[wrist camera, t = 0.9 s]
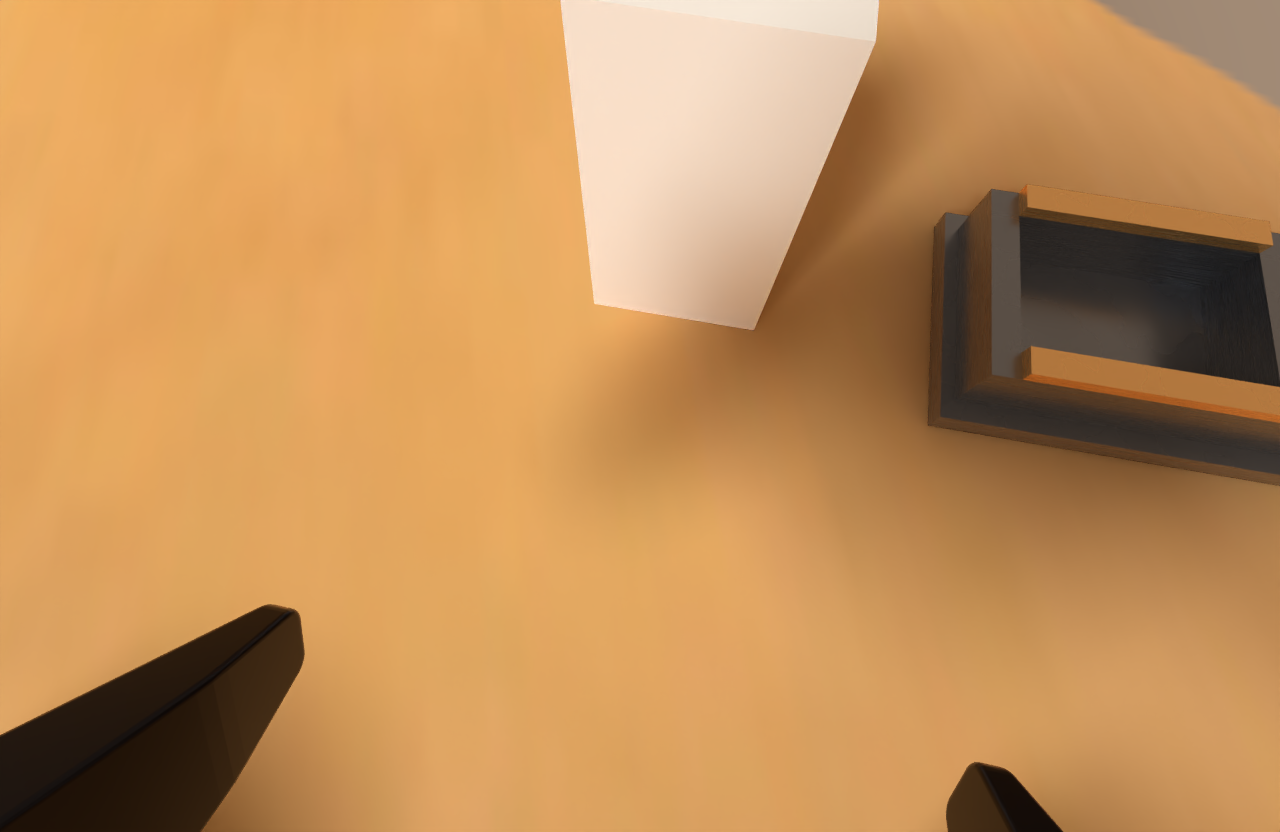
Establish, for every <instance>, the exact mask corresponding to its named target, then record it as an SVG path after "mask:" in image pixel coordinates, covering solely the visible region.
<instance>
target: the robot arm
mask: <svg viewBox="0 0 1280 832" xmlns="http://www.w3.org/2000/svg"><path fill="white" fill-rule="evenodd" d="M303 660H304V643H303V635H302V627H301V619H300V615H299V613H298V612H297V611H296V610H294V609H291V608H287V607H282V606H278V605H272V604H269V605H264V606H261V607H259V608H257V609H255V610H253V611H251V612H249V613H247V614H245V615H243V616H241V617H239V618H237V619H235V620H233V621H231V622H228V623H226V624H224V625H222V626H220V627H218V628H216V629H214V630H212V631H210V632H208V633H206V634H204V635H202V636H200V637H198V638H196V639H194V640H192V641H190V642H188V643H186V644H184V645H182V646H180V647H178V648H176V649H174V650H172V651H170V652H168V653H166V654H164V655H162V656H160V657H158V658H156V659H153V660H151V661H149V662H147V663H145V664H143V665H141V666H139V667H137V668H135V669H133V670H131V671H129V672H127V673H125V674H123V675H121V676H119V677H117V678H115V679H113V680H111V681H109V682H107V683H105V684H103V685H101V686H99V687H97V688H95V689H93V690H91V691H89V692H87V693H85V694H83V695H81V696H78V697H76V698H74V699H72V700H70V701H68V702H66V703H64V704H62V705H60V706H58V707H56V708H54V709H52V710H50V711H48V712H46V713H44V714H42V715H40V716H38V717H36V718H34V719H32V720H30V721H28V722H26V723H24V724H22V725H20V726H18V727H16V728H14V729H12V730H10V731H8V732H6V733H3V734H1V735H0V832H201V831H202V829H203V828H204V826H205V825H206V824H207V822H208V821H209V819H210V818H211V817H212V815H213V814H214V812H215V811H216V809H217V808H218V807H219V805H220V804H221V802H222V801H223V799H224V798H225V796H226V795H227V793H228V792H229V790H230V789H231V787H232V786H233V784H234V783H235V781H236V780H237V778H238V777H239V775H240V773H241V772H242V770H243V768H244V767H245V765H246V763H247V762H248V760H249V758H250V756H251V755H252V753H253V751H254V749H255V748H256V746H257V744H258V743H259V741H260V739H261V737H262V736H263V734H264V732H265V730H266V729H267V727H268V725H269V723H270V722H271V720H272V718H273V716H274V715H275V713H276V711H277V709H278V708H279V706H280V704H281V703H282V701H283V699H284V697H285V696H286V694H287V692H288V690H289V689H290V687H291V685H292V683H293V682H294V680H295V678H296V676H297V675H298V673H299V671H300V669H301V666H302V664H303ZM946 820H947V828H948V832H1063V831H1062V830H1061V828H1060V827H1059V826H1058V825H1057V824H1056V823H1055V822H1054V820H1053V819H1052V818H1051V817H1050V816H1049V815H1048V814H1047V813H1046V811H1045V810H1044V809H1043V808H1042V807H1041V806H1040V805H1039V803H1038V802H1037V801H1036V800H1035V799H1034V798H1033V797H1032V795H1031V794H1030V793H1029V792H1028V791H1027V790H1026V789H1025V787H1024V786H1023V785H1022V784H1021V783H1020V782H1019V781H1018V780H1017V778H1016V777H1015V776H1014V775H1013V774H1012V773H1011V772H1009V771H1008V770H1006V769H1004V768H1001V767H998V766H993V765H989V764H984V763H980V762H974V763H972V764H970V765H969V766H968V767H967V769H966V771H965V772H964V774H963V776H962V777H961V779H960V781H959V783H958V784H957V786H956V788H955V790H954V791H953V793H952V795H951V796H950V798H949V801H948V804H947V810H946Z"/></svg>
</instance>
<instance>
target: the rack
mask: <svg viewBox="0 0 1280 832" xmlns="http://www.w3.org/2000/svg"><path fill="white" fill-rule="evenodd" d="M928 425H930V426H935V427H941V428H947V429H953V430H959V431H965V432H970V433H976V434H982V435H988V436H994V437H999V438H1005V439H1011V440H1017V441H1023V442H1029V443H1034V444H1040V445H1046V446H1052V447H1058V448H1063V449H1069V450H1075V451H1081V452H1087V453H1093V454H1098V455H1104V456H1110V457H1116V458H1122V459H1127V460H1133V461H1139V462H1145V463H1151V464H1157V465H1162V466H1168V467H1174V468H1180V469H1186V470H1191V471H1197V472H1203V473H1209V474H1215V475H1221V476H1226V477H1232V478H1238V479H1244V480H1250V481H1255V482H1261V483H1267V484H1273V485H1279V486H1280V234H1278V233H1272V232H1271V228H1270V222H1269V221H1263V220H1256V219H1250V218H1243V217H1237V216H1230V215H1224V214H1217V213H1211V212H1204V211H1198V210H1191V209H1185V208H1178V207H1172V206H1166V205H1159V204H1153V203H1146V202H1140V201H1133V200H1127V199H1120V198H1114V197H1107V196H1101V195H1094V194H1088V193H1081V192H1075V191H1068V190H1062V189H1056V188H1049V187H1043V186H1036V185H1030V184H1027V185H1026V186H1025V187H1024V188H1023V189H1022V190H1021V191H1020V193H1014V192H1008V191H1001V190H995V189H991V190H990V191H989V193H988V194H987V195H986V196H985V197H984V199H983V200H982V201H981V202H980V203H979V205H978V206H977V207H976V208H975V209H974V211H973V212H972V213H971V214H970V215H969V216H965V215H959V214H952V213H945V214H944V215H943V217H942V218H941V219H940V220H939V222H938V223H937V224H936V226H935V227H934V253H933V283H932V314H931V344H930V375H929V405H928Z"/></svg>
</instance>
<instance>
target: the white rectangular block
mask: <svg viewBox="0 0 1280 832" xmlns="http://www.w3.org/2000/svg"><path fill="white" fill-rule="evenodd" d="M878 7H879V0H561V9H562V18H563V27H564V36H565V45H566V54H567V63H568V72H569V81H570V90H571V99H572V108H573V117H574V126H575V135H576V144H577V153H578V161H579V170H580V179H581V188H582V197H583V206H584V215H585V224H586V233H587V242H588V251H589V260H590V269H591V278H592V287H593V296H594V304H599V305H605V306H611V307H617V308H623V309H629V310H635V311H641V312H647V313H653V314H659V315H664V316H670V317H676V318H682V319H688V320H694V321H700V322H706V323H712V324H718V325H724V326H730V327H736V328H742V329H748V330H754V329H755V327H756V324H757V322H758V320H759V317H760V315H761V312H762V310H763V308H764V305H765V303H766V301H767V298H768V296H769V294H770V291H771V289H772V286H773V284H774V282H775V279H776V277H777V275H778V272H779V270H780V267H781V265H782V263H783V260H784V258H785V256H786V253H787V251H788V248H789V246H790V244H791V241H792V239H793V237H794V234H795V232H796V230H797V227H798V225H799V222H800V220H801V218H802V215H803V213H804V211H805V208H806V206H807V203H808V201H809V199H810V196H811V194H812V192H813V189H814V187H815V185H816V182H817V180H818V177H819V175H820V173H821V170H822V168H823V166H824V163H825V161H826V158H827V156H828V154H829V151H830V149H831V147H832V144H833V142H834V140H835V137H836V135H837V132H838V130H839V128H840V125H841V123H842V121H843V118H844V116H845V113H846V111H847V109H848V106H849V104H850V102H851V99H852V97H853V94H854V92H855V90H856V87H857V85H858V83H859V80H860V78H861V76H862V73H863V71H864V68H865V66H866V64H867V61H868V59H869V57H870V54H871V52H872V49H873V47H874V45H875V42H876V33H877V20H878Z"/></svg>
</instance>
